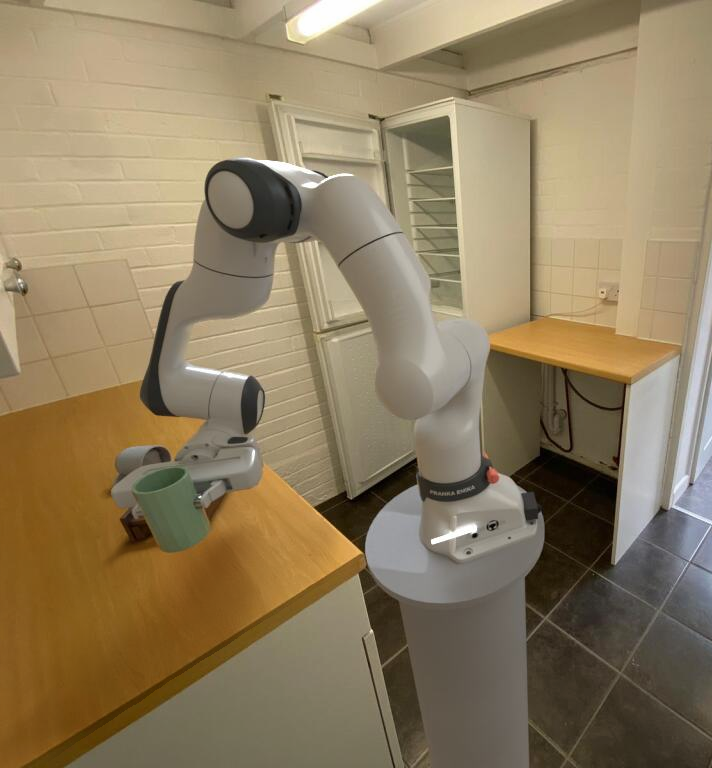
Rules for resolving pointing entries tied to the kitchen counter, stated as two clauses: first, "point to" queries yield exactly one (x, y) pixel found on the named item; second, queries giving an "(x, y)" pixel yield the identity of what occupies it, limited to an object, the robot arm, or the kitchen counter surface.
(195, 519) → the tumbler
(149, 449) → the ceramic mug
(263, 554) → the kitchen counter surface
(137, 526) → the rack
